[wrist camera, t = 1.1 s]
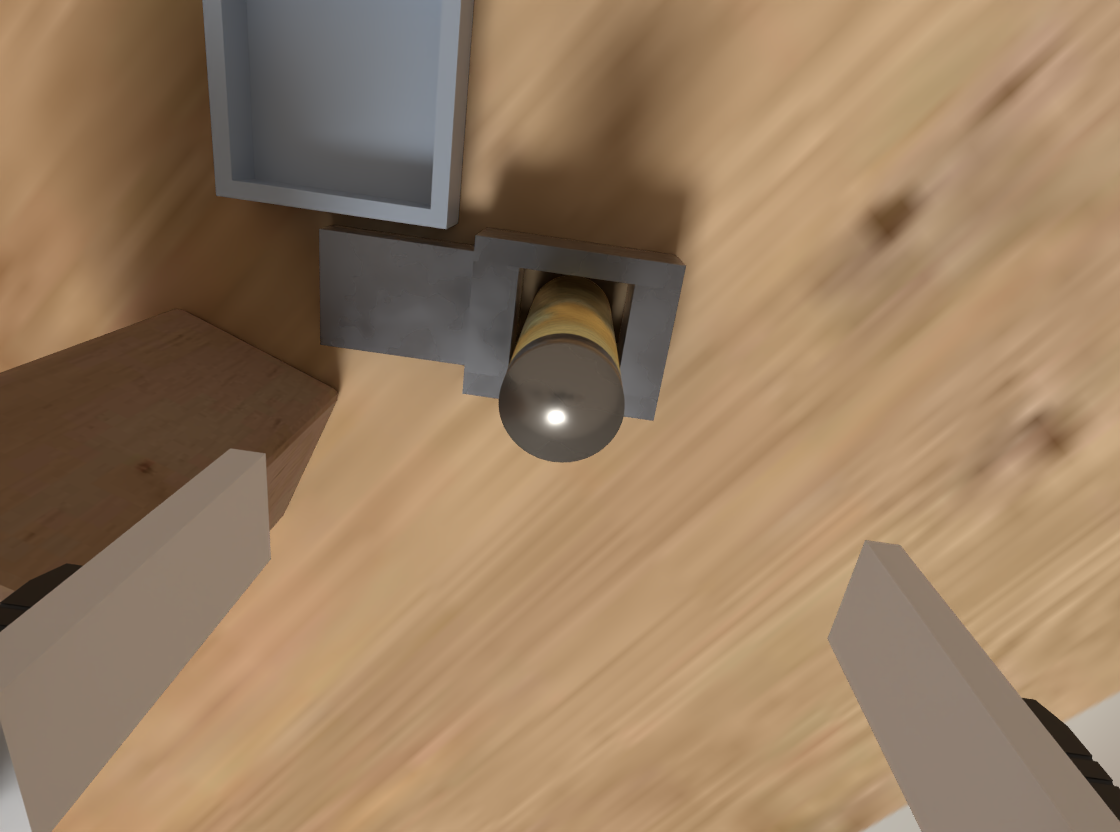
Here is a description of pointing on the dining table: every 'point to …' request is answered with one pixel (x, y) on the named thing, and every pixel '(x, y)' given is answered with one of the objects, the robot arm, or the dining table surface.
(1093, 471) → the dining table surface
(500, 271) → the bar
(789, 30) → the dining table surface
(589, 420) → the pin
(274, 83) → the tray
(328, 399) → the wooden block
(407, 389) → the dining table surface
